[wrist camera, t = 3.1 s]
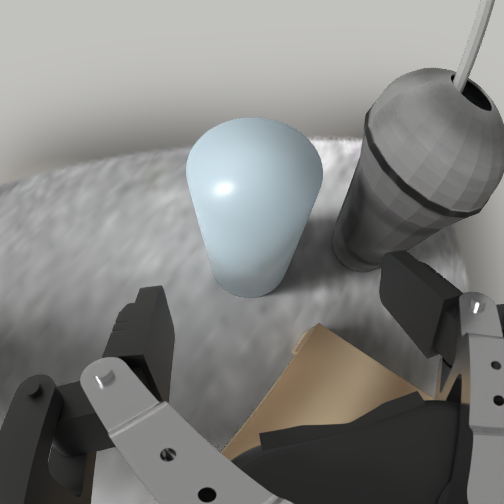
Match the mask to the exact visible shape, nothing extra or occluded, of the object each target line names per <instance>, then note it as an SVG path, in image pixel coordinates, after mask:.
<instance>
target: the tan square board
mask: <svg viewBox="0 0 504 504" xmlns="http://www.w3.org/2000/svg"><path fill="white" fill-rule="evenodd" d="M292 353H293V354H295V356H294V357H293V359H292V360H291V361H290V363H289V364H288V366H287V367H286V369H285V370H284V371H283V373H282V374H281V376H280V377H279V378H278V380H277V381H276V382H275V384H274V385H273V387H272V388H271V389H270V391H269V392H268V393H267V395H266V396H265V397H264V399H263V400H262V401H261V403H260V404H259V405H258V407H257V408H256V409H255V411H254V412H253V413H252V414H251V416H250V417H249V418H248V420H247V421H246V422H245V423H244V425H243V426H242V427H241V428H240V430H239V431H238V432H237V433H236V435H235V436H234V437H233V438H232V440H231V441H230V442H229V443H228V444H227V446H226V447H225V448H224V449H223V450H222V452H221V454H222V455H224V456H225V457H226V458H227V459H228V460H230V461H231V460H232V459H234V458H235V457H237V456H238V455H240V454H241V453H243V452H245V451H247V450H249V449H251V448H254V447H256V446H258V445H261V443H260V437H259V433H263V432H269V431H275V430H280V429H286V428H291V427H296V426H300V425H326V424H345V423H350V422H352V421H354V420H356V419H357V418H359V417H361V416H363V415H364V414H366V413H368V412H370V411H371V410H373V409H375V408H376V407H378V406H380V405H381V404H383V403H385V402H388V401H391V400H393V399H396V398H399V397H402V396H405V395H407V394H410V393H413V392H415V391H418V392H419V394H420V395H421V397H422V398H423V400H435V399H434V398H432V397H431V396H429V395H428V394H426V393H424V392H423V391H421V390H420V389H418V388H417V387H415V386H414V385H412V384H410V383H409V382H407V381H406V380H404V379H403V378H401V377H400V376H398V375H397V374H395V373H393V372H392V371H390V370H389V369H387V368H386V367H384V366H383V365H381V364H380V363H378V362H377V361H375V360H374V359H372V358H371V357H369V356H368V355H366V354H365V353H363V352H361V351H360V350H358V349H357V348H355V347H354V346H352V345H351V344H349V343H348V342H346V341H345V340H343V339H342V338H340V337H339V336H337V335H336V334H334V333H333V332H331V331H330V330H328V329H327V328H326V327H324V326H323V325H321V324H320V323H319V324H317V325H316V326H314V327H312V328H311V329H309V330H308V331H306V332H305V333H304V334H303V336H302V337H301V339H300V340H299V341H298V343H297V344H296V346H295V347H294V349H293V350H292Z"/></svg>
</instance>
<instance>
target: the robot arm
mask: <svg viewBox="0 0 504 504" xmlns="http://www.w3.org/2000/svg"><path fill="white" fill-rule="evenodd" d="M379 293H380V299H381V302H382V304H383V305H384V307H385V308H386V309H387V310H388V311H389V313H390V314H391V315H392V316H393V317H394V318H395V320H396V321H397V322H398V323H399V324H400V326H401V327H402V328H403V329H404V330H405V332H406V333H407V334H408V335H409V337H410V338H411V339H412V340H413V341H414V343H415V344H416V345H417V346H418V348H419V349H420V350H421V351H422V353H423V354H424V355H425V356H426V358H430V357H433V356H435V355H438V354H440V355H441V359H440V362H439V369H438V380H437V389H436V397H435V400H423V398H422V397H421V395H420V394H419V392H418V391H415V392H413V393H410V394H407V395H405V396H402V397H399V398H396V399H393V400H391V401H388V402H385V403H383V404H381V405H380V406H378V407H376V408H375V409H373V410H371V411H370V412H368V413H366V414H364V415H363V416H361V417H359V418H357V419H356V420H354V421H352V422H350V423H345V424H326V425H300V426H296V427H291V428H286V429H280V430H275V431H269V432H263V433H259V437H260V443H261V445H258V446H256V447H254V448H251V449H249V450H247V451H245V452H243V453H241V454H240V455H238V456H237V457H235V458H234V459H232V460H231V461H230V460H228V459H227V458H226V457H225V456H224V455H222V454H221V453H220V452H219V451H218V450H217V449H216V448H214V447H213V446H212V445H211V444H210V443H209V442H208V441H207V440H206V439H204V438H203V437H202V436H201V435H200V434H199V433H198V432H197V431H196V430H195V429H194V428H193V427H192V426H191V425H190V424H189V423H187V422H186V421H185V420H184V419H183V418H182V417H181V416H180V415H179V414H178V413H177V412H176V411H175V410H174V409H173V408H172V407H171V406H170V405H169V404H168V402H169V391H170V380H171V369H172V359H173V350H174V341H175V334H174V326H173V322H172V318H171V315H170V311H169V308H168V304H167V300H166V296H165V293H164V289H163V287H162V286H153V287H145V288H140V290H139V293H138V295H137V298H136V301H135V303H130V304H127V305H126V306H125V307H124V308H123V309H122V310H121V311H120V312H119V315H118V317H117V320H116V322H115V323H116V324H115V325H114V327H113V330H112V331H113V332H112V333H111V335H110V338H109V340H108V343H107V346H106V349H105V351H104V354H103V357H102V358H101V359H98V360H96V361H94V362H92V363H91V364H89V365H88V366H87V367H86V368H85V369H84V371H83V372H82V374H81V377H80V381H78V382H74V383H70V384H67V385H63V386H59V387H57V386H56V384H55V383H54V381H53V380H52V379H51V378H50V377H49V376H46V375H36V376H33V377H30V378H28V379H27V380H25V381H24V382H23V383H22V384H21V385H20V386H19V388H18V389H17V391H16V393H15V396H14V398H13V400H12V403H11V405H10V407H9V410H8V412H7V415H6V417H5V420H4V422H3V425H2V428H1V430H0V504H91V496H92V485H93V476H94V467H95V460H96V452H97V451H100V450H104V449H108V448H112V447H117V449H118V450H119V452H120V453H121V455H122V456H123V458H124V459H125V460H126V462H127V463H128V465H129V466H130V467H131V469H132V470H133V472H134V473H135V474H136V476H137V477H138V478H139V480H140V481H141V482H142V483H143V485H144V486H145V487H146V488H147V490H148V491H149V492H150V493H151V495H152V496H153V497H154V498H155V500H156V501H157V502H158V503H159V504H504V304H501V305H496V304H495V302H494V301H493V300H492V299H491V298H489V297H488V296H486V295H484V294H481V293H477V292H467V293H464V294H463V293H462V292H461V291H460V290H459V289H457V288H456V287H455V286H454V285H453V284H451V283H450V282H449V281H448V280H446V279H445V278H443V276H441V275H440V274H439V273H436V271H435V270H434V269H432V268H431V267H430V266H429V265H427V264H425V263H422V262H420V261H418V260H417V259H415V258H414V257H413V256H412V255H410V254H409V253H408V252H406V251H405V250H399V251H393V252H387V253H385V254H384V256H383V261H382V271H381V280H380V290H379ZM51 445H52V448H51ZM50 449H51V452H50ZM49 454H50V457H49ZM48 458H49V461H48Z"/></svg>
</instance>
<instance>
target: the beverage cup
mask: <svg viewBox="0 0 504 504" xmlns="http://www.w3.org/2000/svg"><path fill="white" fill-rule="evenodd" d="M494 1H495V0H480V3H479V7H478V10H477V14H476V17H475V20H474V23H473V27H472V30H471V33H470V36H469V39H468V42H467V45H466V48H465V51H464V54H463V57H462V59H461V62H460V64H459V67H458V70H457V72H454V71H451V70H446V69H440V68H424V69H420V70H416V71H413V72H410V73H407V74H405V75H402V76H400V77H399V78H397V79H396V80H394V81H393V82H392V83H391V84H389V86H388V87H387V88H386V89H385V90H384V92H383V93H382V94H381V96H380V97H379V98H378V99H377V101H376V102H375V103H374V104H373V106H372V107H371V108H370V109H369V111H368V112H367V113H366V117H365V124H364V135H363V141H362V148H361V154H360V158H359V161H358V164H357V167H356V170H355V172H354V175H353V178H352V181H351V184H350V186H349V189H348V192H347V195H346V197H345V200H344V203H343V205H342V208H341V211H340V213H339V216H338V219H337V222H336V226H335V230H334V232H333V236H332V246H333V250H334V252H335V255H336V257H337V258H338V259H339V260H340V262H341V263H342V264H343V265H345V266H346V267H348V268H349V269H351V270H354V271H357V272H368V271H371V270H374V269H376V268H377V267H379V266H382V261H383V256H384V254H385V253H387V252H393V251H399V250H405V251H407V250H409V249H411V248H412V247H414V246H415V245H417V244H418V243H420V242H422V241H423V240H425V239H426V238H428V237H429V236H431V235H432V234H434V233H436V232H437V231H439V230H440V229H442V228H443V227H445V226H448V225H451V224H453V223H456V222H458V221H460V220H462V219H464V218H467V217H469V216H472V215H475V214H477V213H479V212H480V211H481V209H482V208H483V207H484V206H485V204H486V203H487V202H488V200H489V198H490V196H491V194H492V193H493V192H494V190H495V189H496V187H497V186H498V184H499V182H500V181H501V179H502V176H503V173H504V124H503V121H502V118H501V116H500V113H499V111H498V109H497V108H496V106H495V104H494V103H493V101H492V100H491V99H490V98H489V96H488V95H487V94H486V93H485V91H484V90H483V89H482V88H481V87H480V86H478V85H477V84H476V83H475V82H473V81H472V80H470V79H469V78H468V77H469V75H470V72H471V70H472V67H473V64H474V62H475V59H476V57H477V54H478V51H479V48H480V45H481V43H482V39H483V37H484V34H485V31H486V28H487V25H488V22H489V18H490V15H491V12H492V9H493V5H494Z"/></svg>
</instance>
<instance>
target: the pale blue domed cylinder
mask: <svg viewBox="0 0 504 504" xmlns="http://www.w3.org/2000/svg"><path fill="white" fill-rule="evenodd" d="M186 175H187V181H188V185H189V189H190V193H191V196H192V200H193V204H194V208H195V211H196V215H197V219H198V222H199V226H200V230H201V233H202V237H203V240H204V244H205V247H206V251H207V254H208V258H209V261H210V265H211V268H212V271H213V274H214V277H215V278H216V280H217V282H218V283H219V284H220V285H221V286H222V287H223V288H224V289H225V290H226V291H228V292H229V293H231V294H233V295H236V296H239V297H244V298H255V297H260V296H263V295H266V294H268V293H270V292H271V291H273V290H274V289H275V288H276V287H277V286H278V285H279V284H280V283H281V281H282V280H283V278H284V276H285V273H286V271H287V269H288V266H289V264H290V262H291V259H292V257H293V254H294V252H295V250H296V247H297V245H298V242H299V240H300V238H301V235H302V233H303V230H304V228H305V225H306V223H307V220H308V218H309V215H310V213H311V210H312V208H313V205H314V203H315V200H316V198H317V195H318V193H319V190H320V188H321V184H322V180H323V168H322V163H321V159H320V157H319V154H318V152H317V150H316V149H315V147H314V146H313V144H312V143H311V142H310V141H309V140H308V139H307V138H306V137H305V136H304V135H303V134H301V133H300V132H299V131H297V130H296V129H294V128H292V127H291V126H289V125H287V124H284V123H282V122H279V121H276V120H272V119H266V118H256V117H249V118H239V119H234V120H231V121H227V122H224V123H222V124H219V125H217V126H215V127H214V128H212V129H210V130H209V131H208V132H206V133H205V134H204V135H203V136H202V137H201V138H200V139H199V140H198V141H197V142H196V143H195V145H194V146H193V148H192V150H191V152H190V154H189V157H188V160H187V165H186Z"/></svg>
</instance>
